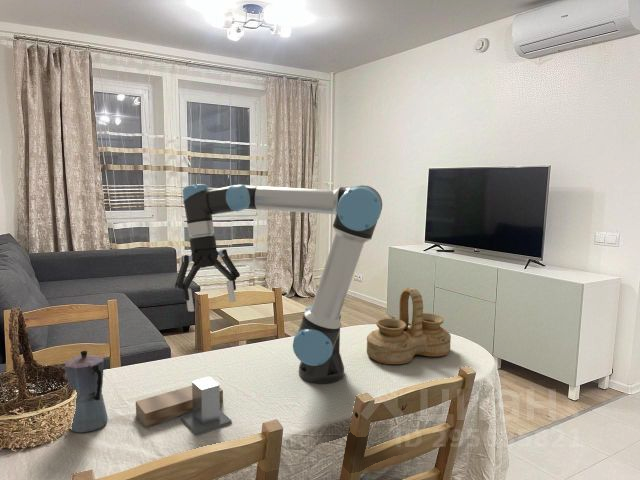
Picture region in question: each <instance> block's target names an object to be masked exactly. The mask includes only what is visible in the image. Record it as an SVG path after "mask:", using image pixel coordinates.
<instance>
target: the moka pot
mask: <svg viewBox="0 0 640 480" xmlns="http://www.w3.org/2000/svg"><path fill="white" fill-rule="evenodd" d="M104 366H105V362H104V356H102V355H96V354H88V350H82V351H80V355H76V356H73V357H71V359H69V360H67V361H65V363H64V371H65V375H66V380H67V383H68V386H69V385H70V386H71V387H72V388H73V389H74V390H76V392H77V398H76V409H75V410H76V411H75V414H74V418H73V423H72V430H73V431H72V430H71V431H72V432H74V433H86V432H92V431H95V430H99V429H101V428H102V427H103V426H104V425H106V424H107V422H108V420H109V419H108V418H109V417H108V413H107V409H106V405H105V401H104V396H103V393H102V392H103V389H102V388H103V383H104V382H103V381H104Z"/></svg>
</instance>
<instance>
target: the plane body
mask: <svg viewBox="0 0 640 480" xmlns="http://www.w3.org/2000/svg"><path fill="white" fill-rule="evenodd" d="M219 397H220V405H222V404H224V390H223V389H222V388H221V387H220V386H219ZM192 412H193V403H192V385H189V386H185V387H182V388H178V389H174V390H170V391H168V392H164V393H161V394H158V395H153V396H150V397H147V398H143V399H139V400H135V415H136V417H137V418H138V420H139V421H140V422H141V424H142V425H143V426H144V428H145V429H147V428H150V427H154V426H156V425H160V424H163V423H166V422H169V421H171V420H175V419H178V418H179V419H180V418H181V416H183V415H186V414H189V413H192Z"/></svg>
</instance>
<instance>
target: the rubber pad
mask: <svg viewBox="0 0 640 480" xmlns="http://www.w3.org/2000/svg"><path fill="white" fill-rule="evenodd" d="M180 420H181V421H182V422H183V423H184V424H185V425H186V426H187V427H188V429H189V430H190V431H191V432H192V433H193V434H194V435H195V436H199V435H202V434H204V433H208V432H210V431H214V430H216V429H219V428H221V427H225V426H228V425H230V424H231V425H232V422H233V420H232V419H231V418H229V416H227V415H226V413H224V412H223V411H222V410H221V409H220V420H218V421H215V422H212V423H210V424H207V425H204V426H202V425H201V424H200V423H199V422H198V421H197V420H196V419H195V418H194V417H193V412H192V413H189V414H186V415H183V416H181V417H180Z"/></svg>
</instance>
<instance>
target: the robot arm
mask: <svg viewBox="0 0 640 480" xmlns="http://www.w3.org/2000/svg"><path fill="white" fill-rule="evenodd" d="M182 197H183V202H182V203H183V206H184V211H185V212H184V213H185V217H186V225H187V232H188V237H190V239H189V246H190V252H191V255H189V254H185V255H184V254H183V255H181V264H180V268H179V272H178V273H177V274H178V275H177V278H176V281H175V284H174V288H175V289H177V290H181V292H182V299H183V301H184V302H185V301H186V308H187V311H188V312H195V307H194V301H193V293H192V289H191V288H190V285H191V284H192V282H193V280H194V279H195V277H196V274H198V271H200V270H201V269H204V268H205V269H206V268H209V267H213V268H216V270H218V271H219V273H221V274H222V275H223V276H224V277H225V278H226V279H227V280H226V281H225V282H226V288H227V296H228V302H231V303H234V302H236V295H235V291H237V285H236V280H237V279H238V278H240V276H241V275H240V272H239V271H238V269H237V267H236V266H235V265H234V263H233V262H232V259H231V258H230V257H229V255H228V250H227V249H225V248H224V249H220V250H218V249H217V241H216V237H215V228H214V227H215V226H214V222H213V216H214V215H218V214H226V213H232V212H240V211H243V210H262V211H277V212H279V211H281V212H290V213H292V212H293V213H294V212H296V213H306V214H307V213H309V214H322V215H323V214H325V215H333V216H334V215H335V217H334V221H333V224H332V228H333V230H334V233H335V235H334V238H333V240H332V244H331V246H330V250H329V253H328V256H327V259H326V263H325V265H324V269H323V271H322V274H321V278H320V280H319V283H318V287H317V289H316V292H315V295H314V298H313V302H312V304H311V305H309V306H307V307H306V308H305V310H304V313H303V315H302V319H301V321H300V325H299V328H298V330H297V333H296V334H295V335H294V337H293V340H292V350H293V353H294V355H295V356H296V358H297V359H298V361H300V363H299V365H298V376H299V377H300V378H301V379H302V380H304V381H306V382H309V383H314V384H331V383H335V382H338V381H340V380H342V379H343V378H344V376H345V366H344V363H343V359H342V356H341V351H340V350H341V349H340V347H341V345H340V344H341V328H342V322H341V319H342V316H341V315H342V314H341V311H342V309H343V306H344V303H345V299H346V297H347V294H348V292H349V287H350V285H351V282H352V279H353V277H354V274H355V271H356V268H357V265H358V262H359V259H360V256H361V253H362V251H363V248H364V244H365V243H366V242H368V241H369V242H370V241H371V240H372V238H373V235H374V231H375V230H376V227H377V224H378V221H379V219H380V216H381V213H382V210H383V200H382V197H381V195H380V194H379V192H378V191H377V190H376V189H375V188H373V187H371V186H369V185H362V184H361V185H356V186H343V187H342V186H339V187H337V188H336V189H325V188H324V189H322V188H321V189H320V188H303V187H301V188H300V187H281V186H263V185H261V186H260V185H250V184H232V185H229V186H224V187H219V188H218V187H217V188H214V189H213V188H212V189H209V187H208V185H207V184H204V183H197V184H190V185H186V186H184V188H183V189H182ZM213 234H214V235H213ZM218 257H220V258H221V259H222V262H223V263H224V264H225V266H226V267H225V266H224V265H223V264H222V262H220V260H218ZM191 260H192V262H193V264H192V266H191V269H190V271H189V272H188V274H187V271H188V268H189V263H191ZM186 274H187V275H186Z"/></svg>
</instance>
